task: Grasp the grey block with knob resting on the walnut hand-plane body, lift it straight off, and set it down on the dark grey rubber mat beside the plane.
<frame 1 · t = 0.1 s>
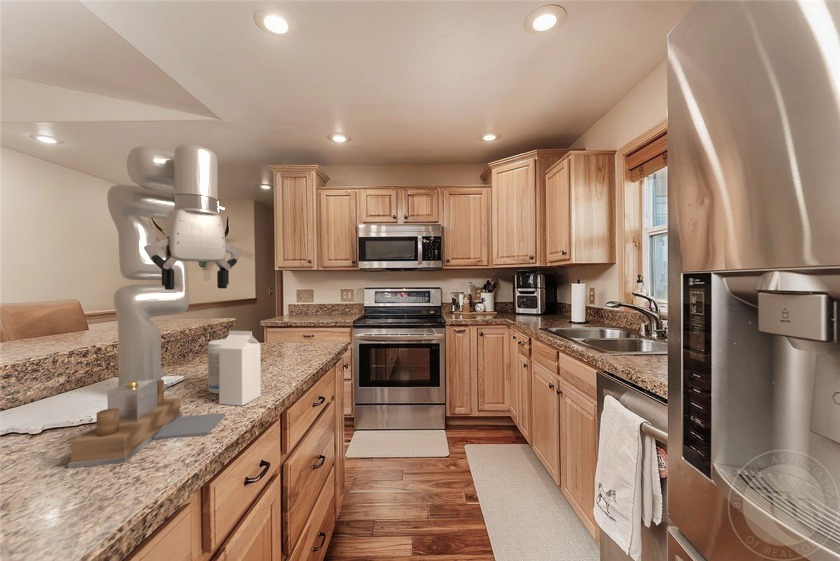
hand: (197, 288, 68), 31 cm above the table, tool pointing down, fingers open, 9 cm apart
milk carton: (240, 401, 89), on the table
supplement tub: (226, 389, 98), on the table
plane body: (134, 437, 68), on the table
grey block with knob: (134, 416, 68), point 4 cm above the table, touching plane body
mat: (192, 426, 73), on the table
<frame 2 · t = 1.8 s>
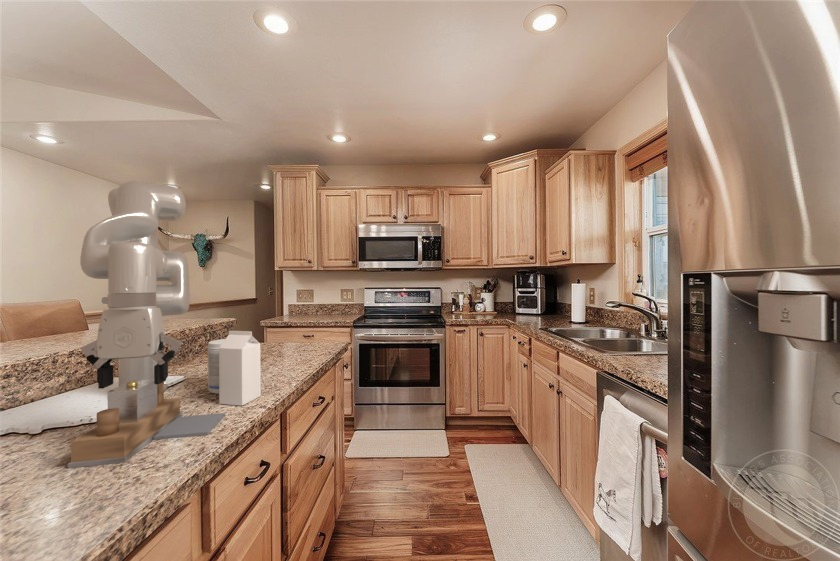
hand: (133, 384, 67), 11 cm above the table, tool pointing down, fingers open, 9 cm apart
nothing on the table moved.
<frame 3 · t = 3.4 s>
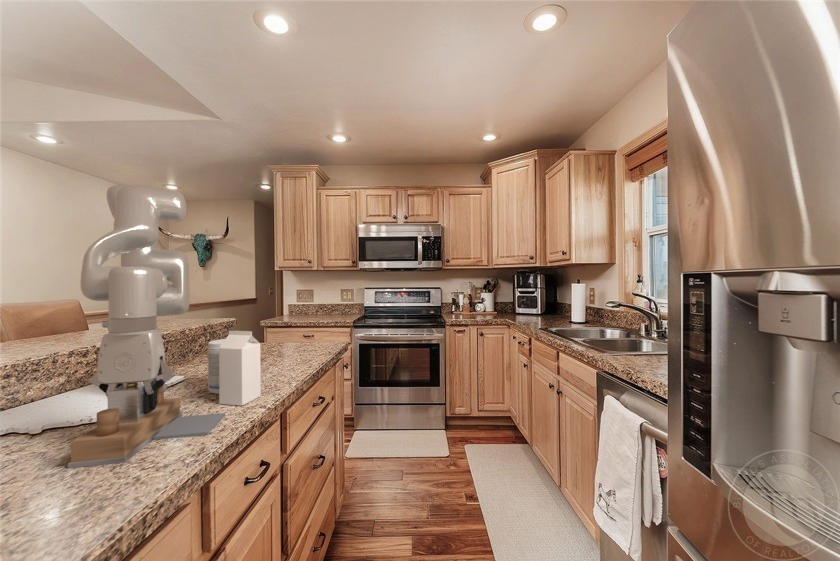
hand: (134, 411, 68), 5 cm above the table, tool pointing down, fingers closed on grey block with knob, 5 cm apart
grey block with knob: (134, 416, 68), point 5 cm above the table, touching gripper, plane body
everything else where it was.
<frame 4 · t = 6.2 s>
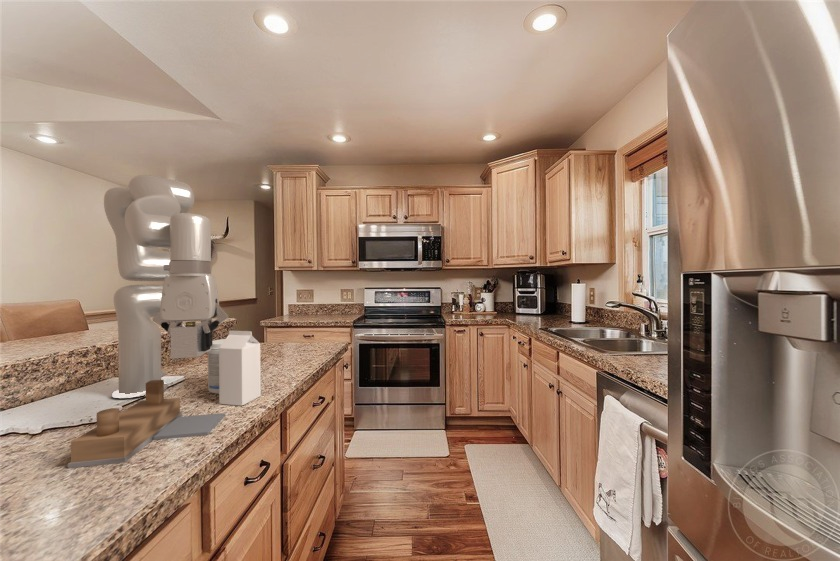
hand: (191, 350, 73), 17 cm above the table, tool pointing down, fingers closed on grey block with knob, 5 cm apart
grey block with knob: (191, 354, 73), point 16 cm above the table, touching gripper
everything else where it was.
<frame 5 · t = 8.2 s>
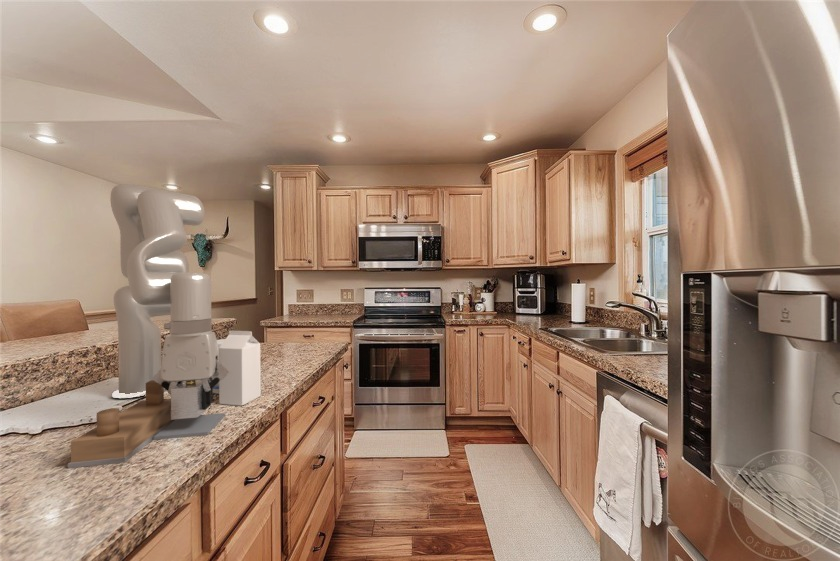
hand: (192, 407, 73), 4 cm above the table, tool pointing down, fingers closed on grey block with knob, 5 cm apart
grey block with knob: (192, 412, 73), point 3 cm above the table, touching gripper
everything else where it was.
when the fingers open (3 cm above the table, at t = 9.4 s): grey block with knob drops 1 cm, resting on mat.
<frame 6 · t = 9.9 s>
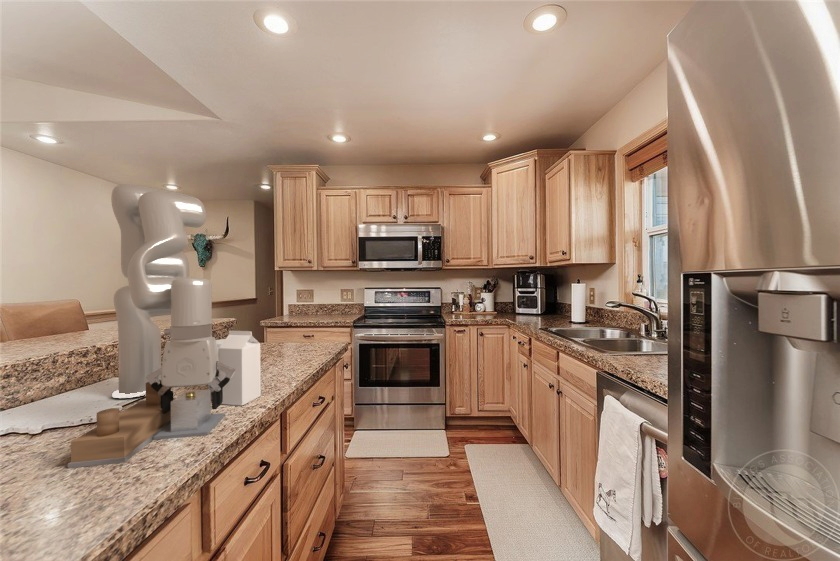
hand: (192, 409, 73), 4 cm above the table, tool pointing down, fingers open, 9 cm apart
grey block with knob: (191, 424, 73), point 1 cm above the table, touching mat
everything else where it was.
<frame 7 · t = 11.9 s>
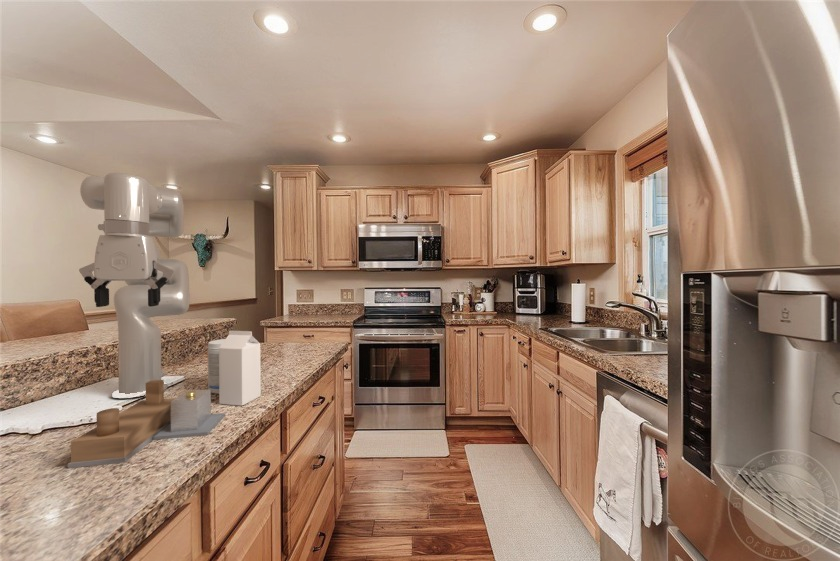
hand: (128, 306, 74), 27 cm above the table, tool pointing down, fingers open, 9 cm apart
nothing on the table moved.
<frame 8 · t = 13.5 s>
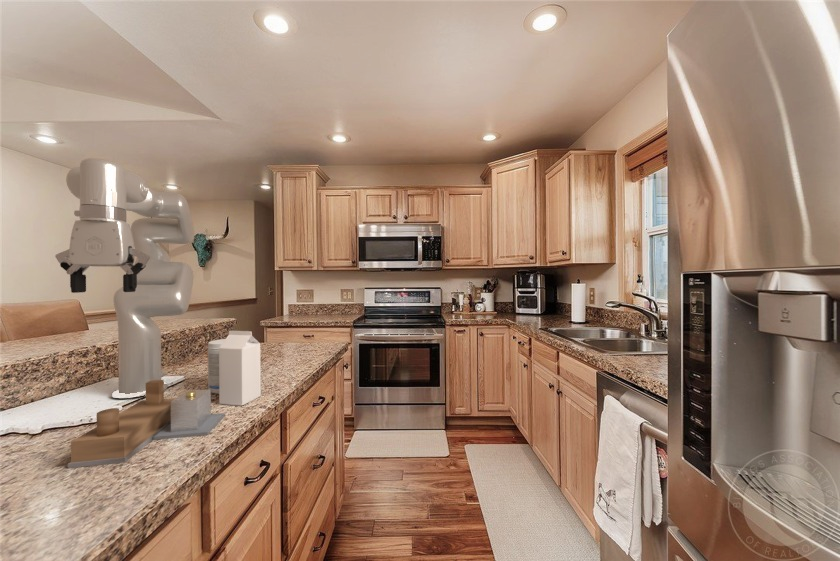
hand: (104, 292, 73), 30 cm above the table, tool pointing down, fingers open, 9 cm apart
nothing on the table moved.
at the end: grey block with knob inside the target area on the mat (0.1 cm from its centre), point 0.6 cm above the mat's base; grey block with knob touching mat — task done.
